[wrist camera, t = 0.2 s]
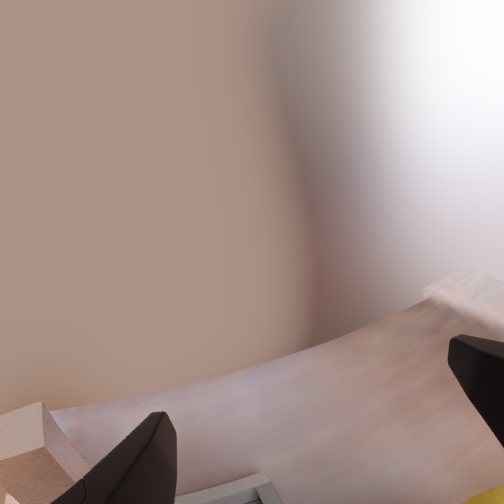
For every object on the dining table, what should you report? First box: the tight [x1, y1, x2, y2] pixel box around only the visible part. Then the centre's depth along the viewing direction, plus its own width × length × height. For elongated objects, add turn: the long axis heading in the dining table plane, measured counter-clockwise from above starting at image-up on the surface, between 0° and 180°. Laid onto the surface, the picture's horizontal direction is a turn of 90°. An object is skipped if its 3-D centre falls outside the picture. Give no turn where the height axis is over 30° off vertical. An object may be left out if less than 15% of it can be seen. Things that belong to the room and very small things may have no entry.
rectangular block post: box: [0, 401, 91, 504], centre depth 14 cm, size 5×5×12 cm
